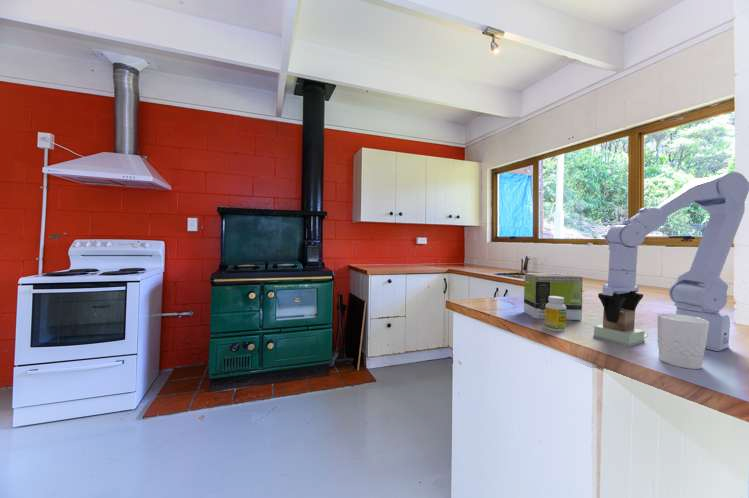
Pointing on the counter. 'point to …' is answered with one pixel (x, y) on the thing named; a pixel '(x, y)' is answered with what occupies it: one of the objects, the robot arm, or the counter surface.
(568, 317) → the tea box
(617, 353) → the counter surface
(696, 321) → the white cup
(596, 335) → the base brick
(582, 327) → the counter surface
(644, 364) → the counter surface
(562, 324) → the supplement bottle
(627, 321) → the walnut brick
